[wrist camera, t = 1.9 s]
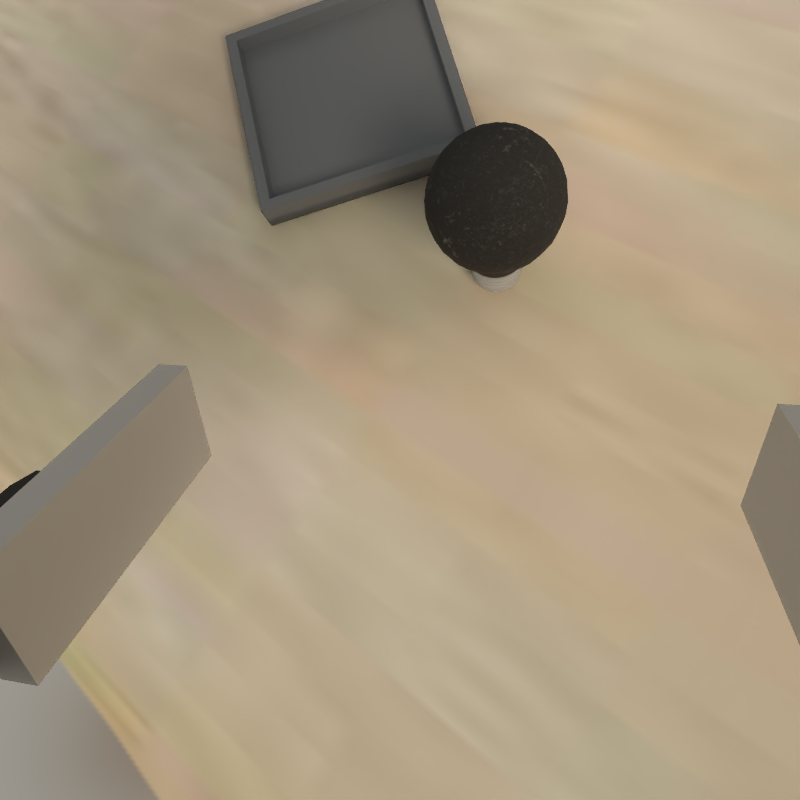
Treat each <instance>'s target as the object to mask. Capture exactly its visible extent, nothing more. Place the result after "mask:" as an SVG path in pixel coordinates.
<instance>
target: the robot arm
mask: <svg viewBox="0 0 800 800" xmlns="http://www.w3.org/2000/svg"><path fill="white" fill-rule="evenodd" d="M210 457H211V452H210V448H209V445H208V441H207V437H206V434H205V430H204V426H203V423H202V419H201V415H200V412H199V408H198V404H197V400H196V397H195V393H194V389H193V386H192V382H191V378H190V375H189V371H188V367H187V366H175V365H160V364H159V365H158V366H157V367H156V368H154V369H153V370H152V371H151V372H150V373H149V374H148V375H147V376H146V377H144V378H143V379H142V380H141V381H140V382H139V383H138V384H137V385H136V386H134V387H133V388H132V389H131V390H130V391H129V392H128V393H127V394H126V395H125V396H123V397H122V398H121V399H120V400H119V401H118V402H117V403H116V404H115V405H113V406H112V407H111V408H110V409H109V410H108V411H107V412H106V413H105V414H103V415H102V416H101V417H100V418H99V419H98V420H97V421H96V422H95V423H94V424H92V425H91V426H90V427H89V428H88V429H87V430H86V431H85V432H84V433H82V434H81V435H80V436H79V437H78V438H77V439H76V440H75V441H74V442H72V443H71V444H70V445H69V446H68V447H67V448H66V449H65V450H64V451H62V452H61V453H60V454H59V455H58V456H57V457H56V458H55V459H54V460H53V461H51V462H50V463H49V464H48V465H47V466H46V467H45V468H44V469H43V470H41V471H35V472H33V473H31V474H30V475H28V476H26V477H24V478H23V479H21V480H19V481H17V482H15V483H14V484H12V485H10V486H9V487H8V488H7V489H5V490H4V491H3V492H2V493H1V494H0V678H1V679H4V680H10V681H15V682H20V683H25V684H31V685H36V686H38V685H39V684H40V682H41V681H42V680H43V679H44V677H45V676H46V675H47V673H48V672H49V671H50V669H51V668H52V667H53V665H54V664H55V663H56V661H57V660H58V659H59V657H60V656H61V655H62V653H63V652H64V651H65V649H66V648H67V647H68V645H69V644H70V643H71V642H72V640H73V639H74V638H75V636H76V635H77V634H78V632H79V631H80V630H81V628H82V627H83V626H84V624H85V623H86V622H87V620H88V619H89V618H90V616H91V615H92V614H93V612H94V611H95V610H96V608H97V607H98V606H99V604H100V603H101V602H102V600H103V599H104V598H105V596H106V595H107V594H108V592H109V591H110V590H111V588H112V587H113V586H114V584H115V583H116V582H117V580H118V579H119V578H120V576H121V575H122V574H123V572H124V571H125V570H126V568H127V567H128V566H129V564H130V563H131V562H132V560H133V559H134V558H135V556H136V555H137V554H138V552H139V551H140V550H141V549H142V547H143V546H144V545H145V543H146V542H147V541H148V539H149V538H150V537H151V535H152V534H153V533H154V531H155V530H156V529H157V527H158V526H159V525H160V523H161V522H162V521H163V519H164V518H165V517H166V515H167V514H168V513H169V511H170V510H171V509H172V507H173V506H174V505H175V503H176V502H177V501H178V499H179V498H180V497H181V495H182V494H183V493H184V491H185V490H186V489H187V487H188V486H189V485H190V483H191V482H192V481H193V479H194V478H195V477H196V475H197V474H198V473H199V471H200V470H201V469H202V467H203V466H204V465H205V463H206V462H207V461H208V459H209V458H210ZM741 507H742V510H743V512H744V514H745V517H746V519H747V521H748V524H749V526H750V529H751V531H752V533H753V536H754V538H755V540H756V543H757V545H758V547H759V550H760V552H761V555H762V557H763V559H764V562H765V564H766V566H767V569H768V571H769V574H770V576H771V578H772V581H773V583H774V585H775V588H776V590H777V592H778V595H779V597H780V600H781V602H782V604H783V607H784V609H785V611H786V614H787V616H788V618H789V621H790V623H791V626H792V628H793V630H794V633H795V635H796V637H797V640H798V642H799V644H800V405H787V404H777V407H776V410H775V412H774V415H773V418H772V421H771V423H770V426H769V429H768V432H767V434H766V437H765V440H764V443H763V445H762V448H761V451H760V454H759V456H758V459H757V462H756V465H755V467H754V470H753V473H752V476H751V478H750V481H749V484H748V487H747V489H746V492H745V495H744V498H743V500H742V503H741Z"/></svg>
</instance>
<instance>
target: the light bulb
mask: <svg viewBox="0 0 800 800" xmlns="http://www.w3.org/2000/svg"><path fill="white" fill-rule="evenodd" d="M424 203H425V214H426V220H427V224H428V226H429V229H430V231H431V233H432V236H433V238H434V240H435V241H436V243H437V244H438V245H439V247H440V248H441V249H442V251H443V252H444V253H445V254H446V255H447V256H448V257H450V258H451V259H452V260H453V261H455V262H456V263H457V264H458V265H460V266H462V267H465V268H467V269H469V270H471V271H472V275H473V277H474V279H475V281H476V282H477V283H478V284H479V286H481V287H482V288H484V289H486V290H489V291H492V292H499V291H504V290H506V289H508V288H510V287H511V286H513V285H514V284H515V283H516V281H517V280H518V278H519V276H520V273H521V270H522V267H524V266H526V265H528V264H530V263H531V262H532V261H533V260H535V259H536V258H537V257H538V256H540V255H541V254H542V253H543V252H544V251H545V250H546V249H547V248H548V247H549V246H550V245H551V244H552V242H553V240H554V239H555V237H556V235H557V233H558V231H559V229H560V227H561V225H562V223H563V220H564V218H565V214H566V209H567V204H568V193H567V178H566V175H565V171H564V168H563V165H562V163H561V161H560V159H559V157H558V155H557V154H556V152H555V151H554V149H553V148H552V147H551V146H550V145H549V144H548V142H547V141H546V140H545V139H544V138H542V137H541V136H539V135H538V134H536V133H535V132H533V131H532V130H530V129H528V128H526V127H524V126H520V125H518V124H512V123H506V122H503V123H500V122H495V123H489V124H482V125H479V126H477V127H474V128H471V129H469V130H467V131H466V132H464V133H462V134H460V135H459V136H457V137H456V138H455V139H454V140H453V141H451V142H450V143H449V144H448V145H447V146H446V147H445V148H444V149H443V151H442V152H441V154H440V155H439V156H438V158H437V159H436V161H435V163H434V165H433V167H432V169H431V171H430V173H429V177H428V181H427V185H426V190H425V199H424Z"/></svg>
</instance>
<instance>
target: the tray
mask: <svg viewBox="0 0 800 800" xmlns="http://www.w3.org/2000/svg"><path fill="white" fill-rule="evenodd" d="M226 41H227V45H228V50H229V55H230V60H231V65H232V70H233V75H234V80H235V85H236V90H237V95H238V100H239V104H240V109H241V114H242V119H243V124H244V129H245V134H246V139H247V144H248V149H249V154H250V159H251V163H252V168H253V173H254V178H255V183H256V188H257V193H258V198H259V203H260V208H261V212H262V213H263V215H264V216H265V217H266V219H267V220H268V221H269V223H270V224H271V225H272V226H273V225H276V224H279V223H282V222H285V221H288V220H291V219H294V218H297V217H300V216H304V215H307V214H310V213H313V212H316V211H319V210H322V209H325V208H328V207H331V206H334V205H338V204H341V203H344V202H347V201H350V200H353V199H356V198H359V197H362V196H365V195H368V194H372V193H375V192H378V191H381V190H384V189H387V188H390V187H393V186H396V185H399V184H403V183H406V182H409V181H412V180H415V179H418V178H421V177H424V176H427V175H429V173H430V171H431V169H432V167H433V165H434V163H435V161H436V159H437V158H438V156H439V155H440V154H441V152H442V151H443V149H444V148H445V147H446V146H447V145H448V144H449V143H450V142H451V141H453V140H454V139H455V138H456V137H457V136H459V135H460V134H462V133H464V132H466V131H467V130H469V129H471V128H474V127H476V125H475V122H474V119H473V116H472V113H471V110H470V107H469V104H468V101H467V98H466V95H465V92H464V89H463V86H462V83H461V80H460V77H459V73H458V70H457V67H456V64H455V61H454V58H453V55H452V52H451V49H450V46H449V43H448V40H447V37H446V34H445V31H444V28H443V25H442V22H441V18H440V15H439V12H438V9H437V6H436V3H435V0H323V1H321V2H318V3H315V4H313V5H310V6H307V7H304V8H302V9H299V10H296V11H293V12H291V13H288V14H285V15H282V16H280V17H277V18H274V19H271V20H269V21H266V22H263V23H260V24H258V25H255V26H252V27H249V28H247V29H244V30H241V31H238V32H236V33H233V34H230V35H227V36H226Z"/></svg>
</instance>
